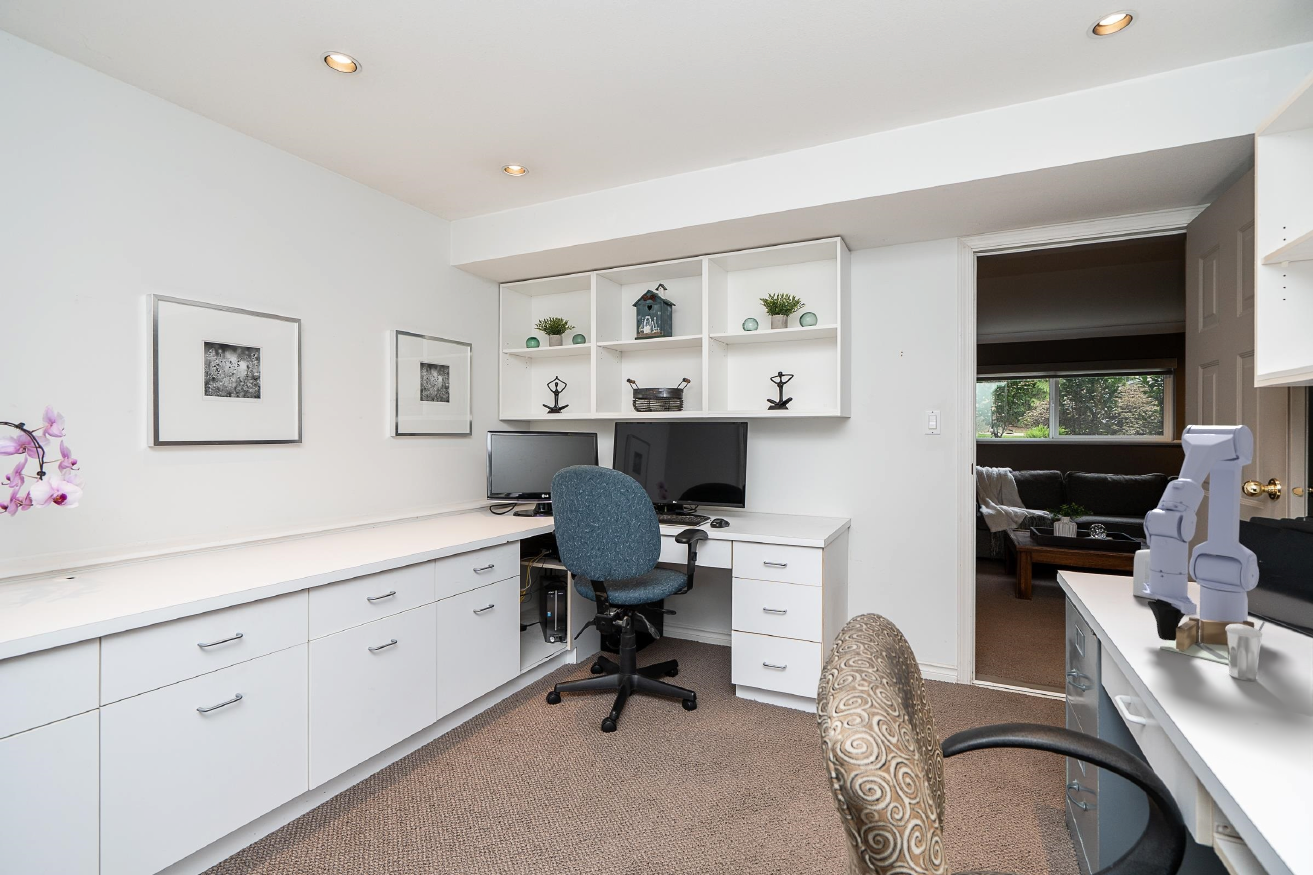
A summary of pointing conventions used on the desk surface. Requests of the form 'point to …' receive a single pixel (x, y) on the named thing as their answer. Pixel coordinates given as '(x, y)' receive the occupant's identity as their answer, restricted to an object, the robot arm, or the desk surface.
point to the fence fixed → (1214, 630)
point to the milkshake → (1243, 650)
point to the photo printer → (1141, 572)
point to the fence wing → (1186, 635)
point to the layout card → (1202, 651)
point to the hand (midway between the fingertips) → (1167, 639)
